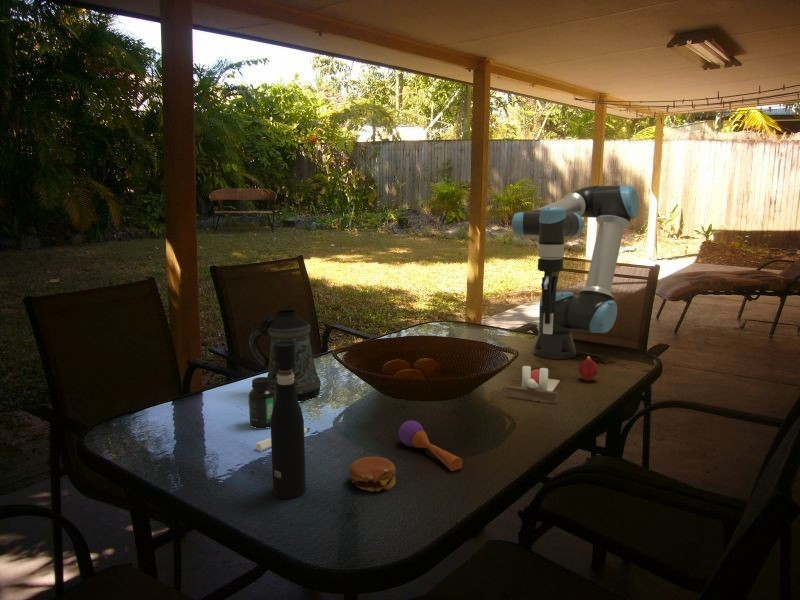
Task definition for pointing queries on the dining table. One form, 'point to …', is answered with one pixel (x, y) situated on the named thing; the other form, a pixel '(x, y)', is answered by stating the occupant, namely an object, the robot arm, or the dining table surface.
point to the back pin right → (526, 376)
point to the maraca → (426, 444)
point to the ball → (535, 375)
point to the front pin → (532, 384)
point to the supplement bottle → (261, 402)
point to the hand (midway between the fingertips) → (547, 333)
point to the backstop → (532, 394)
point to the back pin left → (543, 379)
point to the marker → (269, 442)
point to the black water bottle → (287, 429)
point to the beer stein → (297, 331)
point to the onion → (588, 369)
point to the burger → (373, 473)
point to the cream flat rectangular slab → (552, 384)
